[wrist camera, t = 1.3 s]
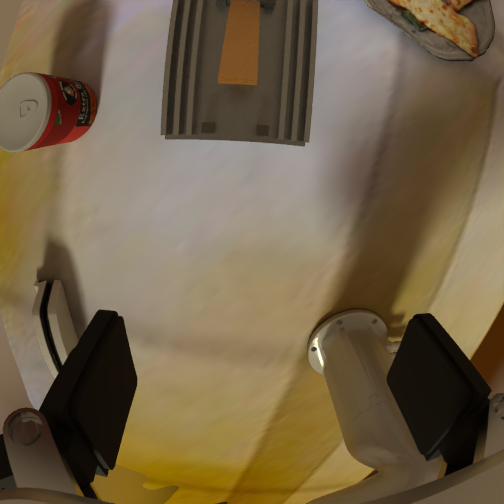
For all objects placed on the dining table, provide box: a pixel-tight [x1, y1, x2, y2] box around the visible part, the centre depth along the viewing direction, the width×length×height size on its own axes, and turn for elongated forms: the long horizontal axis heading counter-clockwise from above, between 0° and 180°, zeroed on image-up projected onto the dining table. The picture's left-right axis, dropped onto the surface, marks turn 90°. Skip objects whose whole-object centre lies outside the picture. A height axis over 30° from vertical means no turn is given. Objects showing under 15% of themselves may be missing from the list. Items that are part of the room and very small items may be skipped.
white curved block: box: [32, 279, 79, 378], centre depth 37 cm, size 17×5×10 cm, turn 177°
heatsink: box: [161, 0, 318, 146], centre depth 25 cm, size 14×17×6 cm
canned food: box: [0, 72, 97, 152], centre depth 24 cm, size 8×8×11 cm
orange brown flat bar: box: [218, 0, 260, 85], centre depth 21 cm, size 3×12×1 cm
